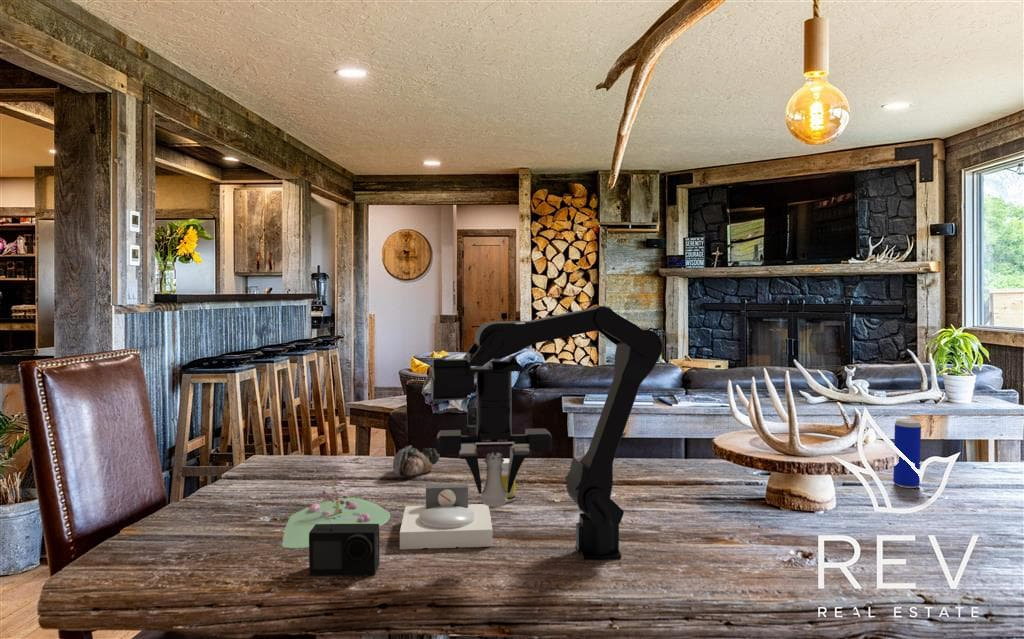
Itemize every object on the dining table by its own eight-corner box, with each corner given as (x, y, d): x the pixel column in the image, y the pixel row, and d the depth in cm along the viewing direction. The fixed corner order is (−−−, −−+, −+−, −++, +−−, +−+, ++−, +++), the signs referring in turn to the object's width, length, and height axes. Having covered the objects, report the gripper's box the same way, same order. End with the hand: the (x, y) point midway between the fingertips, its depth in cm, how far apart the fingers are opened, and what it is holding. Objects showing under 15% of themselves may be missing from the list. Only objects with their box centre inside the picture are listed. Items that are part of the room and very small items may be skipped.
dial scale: (488, 519, 132) (488, 483, 132) (492, 546, 118) (492, 506, 118) (405, 521, 131) (405, 485, 130) (399, 549, 117) (399, 509, 116)
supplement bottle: (520, 499, 144) (520, 460, 144) (504, 504, 141) (504, 464, 141) (503, 494, 148) (503, 456, 147) (488, 499, 144) (488, 460, 144)
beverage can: (919, 485, 155) (921, 420, 154) (919, 490, 151) (920, 423, 150) (893, 481, 158) (895, 417, 157) (892, 487, 153) (894, 421, 153)
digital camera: (306, 579, 105) (305, 535, 105) (315, 565, 110) (315, 523, 110) (373, 579, 105) (373, 534, 105) (379, 564, 111) (379, 522, 110)
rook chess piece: (492, 496, 115) (492, 450, 115) (513, 501, 112) (513, 454, 112) (475, 503, 111) (475, 455, 111) (495, 508, 109) (495, 459, 108)
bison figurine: (391, 482, 158) (433, 480, 158) (389, 452, 158) (432, 450, 158) (401, 469, 170) (441, 467, 170) (399, 441, 170) (439, 439, 170)
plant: (365, 553, 116) (365, 502, 116) (249, 550, 118) (248, 499, 118) (400, 506, 141) (400, 464, 141) (304, 504, 143) (303, 462, 142)
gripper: (544, 390, 120) (543, 477, 121) (438, 391, 118) (438, 480, 119) (553, 401, 109) (553, 496, 109) (436, 402, 107) (436, 500, 108)
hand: (494, 492), depth 112 cm, fingers closed on rook chess piece, 4 cm apart
